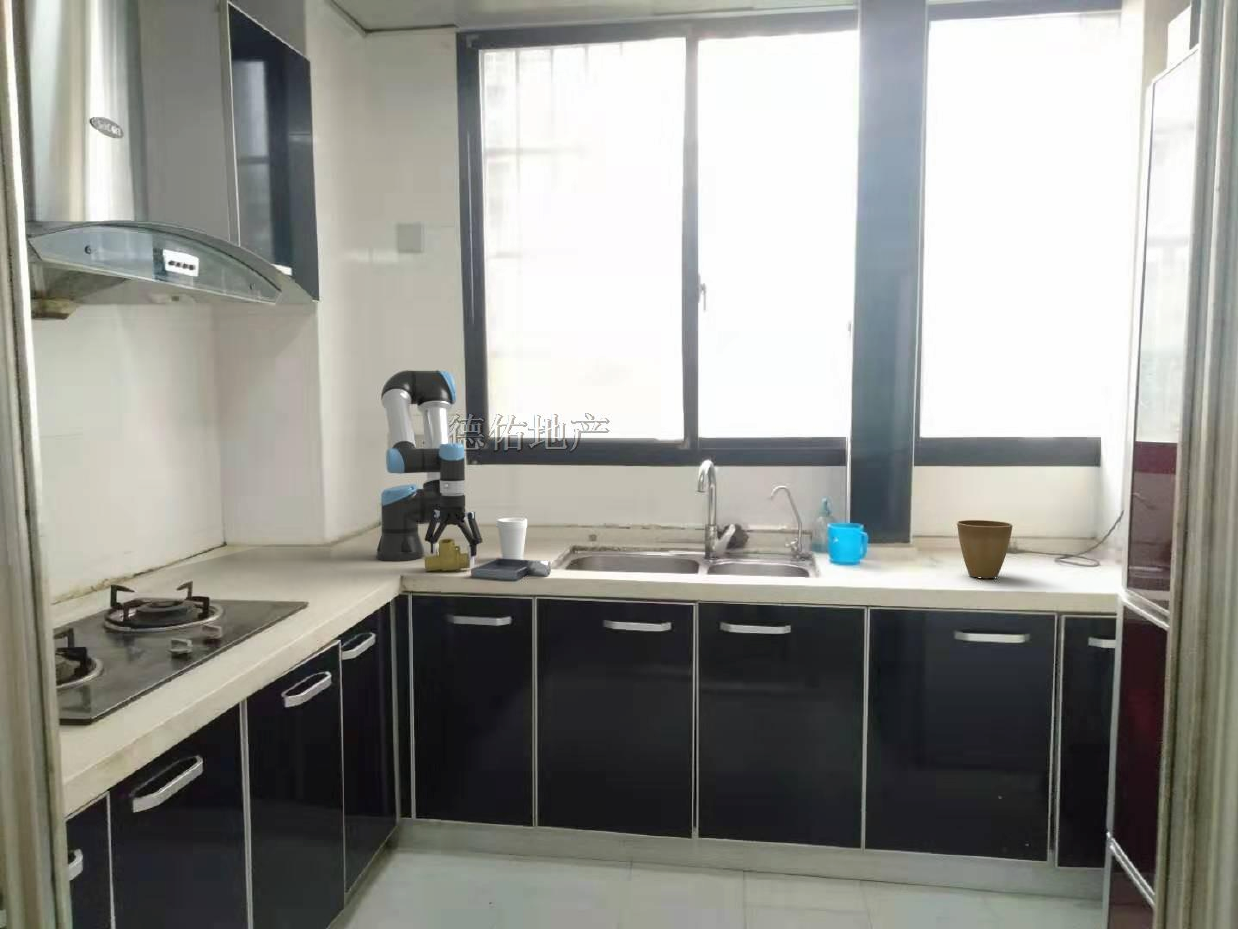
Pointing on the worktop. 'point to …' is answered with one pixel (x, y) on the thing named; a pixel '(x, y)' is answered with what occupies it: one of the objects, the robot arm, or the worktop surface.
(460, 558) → the ball valve
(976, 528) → the plant pot
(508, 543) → the foam cup
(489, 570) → the fitting cradle
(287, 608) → the worktop surface
